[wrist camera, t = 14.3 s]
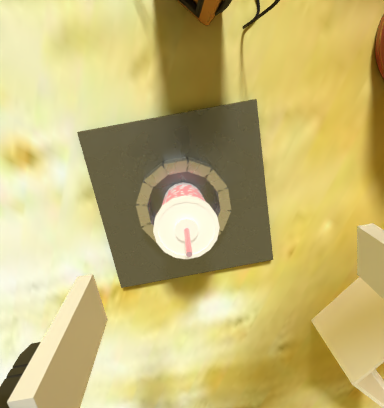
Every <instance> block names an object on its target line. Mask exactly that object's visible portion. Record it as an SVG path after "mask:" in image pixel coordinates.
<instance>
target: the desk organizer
mask: <svg viewBox="0 0 384 408" xmlns="http://www.w3.org/2000/svg"><path fill="white" fill-rule="evenodd" d="M311 322H312V323H313V325H314V326H315V328H316V329H317V331H318V333H319V334H320V336H321V337H322V339H323V340H324V342H325V343H326V345H327V346H328V348H329V350H330V351H331V353H332V354H333V356H334V357H335V359H336V360H337V362H338V364H339V365H340V367H341V368H342V370H343V371H344V373H345V374H346V376H347V377H348V379H349V381H350V382H351V384H352V385H353V386H355V387H356V388H357V389H359V390H360V391H361V392H363V393H364V394H365V395H366V396H368V397H369V398H370V399H372V400H373V401H374V402H376V403H377V404H378V405H380V406H381V407H382V408H384V379H383V378H382V377H381V376H380V374H379V373H378V372H377V370H376V368H377V367H378V366H380V365H381V364H382V363H383V362H384V299H382V298H381V297H380V296H379V295H378V294H377V293H376V292H375V291H374V290H373V289H372V288H371V287H370V286H369V285H368V284H367V283H366V282H365V281H363V280H362V279H361V278H360V277H358V278H357V279H356V280H355V281H354V282H353V283H352V284H351V285H350V286H348V287H347V288H346V289H345V290H344V291H343V292H342V293H341V294H340V295H338V296H337V297H336V298H335V299H334V300H333V301H332V302H331V303H329V304H328V305H327V306H326V307H325V308H324V309H323V310H322V311H321V312H319V313H318V314H317V315H316V316H315V317H314V318H313V319H312V320H311Z"/></svg>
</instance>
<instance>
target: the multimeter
mask: <svg viewBox="0 0 384 408" xmlns="http://www.w3.org/2000/svg"><path fill="white" fill-rule="evenodd" d="M178 1H179V2H180V3H181V4H182V5H183V6H184V7H185V8H186V9H188V10H189V11H190V12H191V13H192V14H193V15H194V16H195V17H197V18H198V20H199V21H201V22H202V23H203V24H204V25H206V26H207V25H209V24H210V22H211V21H212V19H213V18H214V17H215V15H217V14H219V13H221V12H223V11H224V10H225V9H226V8H227V7H228V6H229V4H230V3H231V1H232V0H178ZM279 1H280V0H275V2H274V3H273V4H272V5H271V6H269V7H268V8H267V9H266V10H264V11H263V12H262V13H261V14H259V12H260V3H259V0H257V14H256V16H255V17H254V18H253V20H251V21H250V22H248V23H247V24H246V25H244V26H243V29H244V28H246V27H247V26H249V25H250V24H251V23H253V22H254V21H256V20H257V19H259V18H260V17H261V16H263V15H264V14H265V13H267V12H268V11H269V10H271V9H272V8H273V7H274V6H275V5H276V4H277V3H278V2H279Z"/></svg>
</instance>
